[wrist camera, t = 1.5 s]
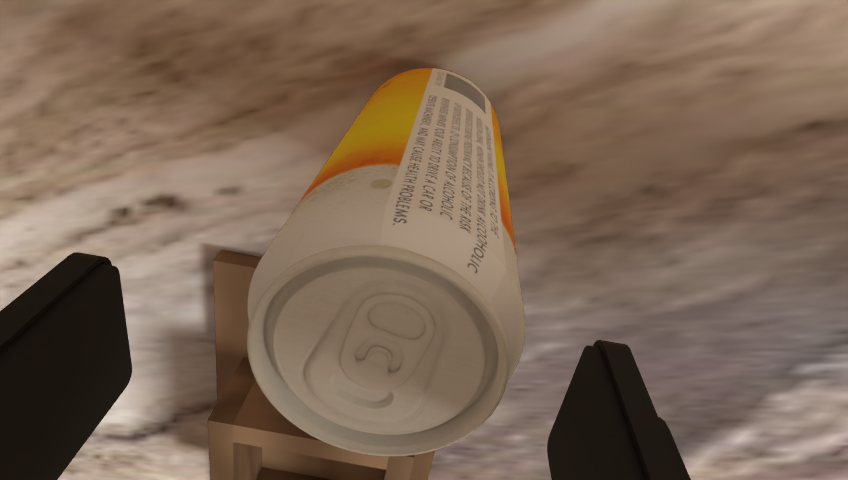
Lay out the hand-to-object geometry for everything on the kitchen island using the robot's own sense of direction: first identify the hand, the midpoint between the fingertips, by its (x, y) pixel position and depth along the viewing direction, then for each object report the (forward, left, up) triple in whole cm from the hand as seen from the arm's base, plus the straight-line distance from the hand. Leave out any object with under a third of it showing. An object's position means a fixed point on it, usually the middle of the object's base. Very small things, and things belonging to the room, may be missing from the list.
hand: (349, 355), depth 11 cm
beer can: (-1, 0, -15) cm, 15 cm away
